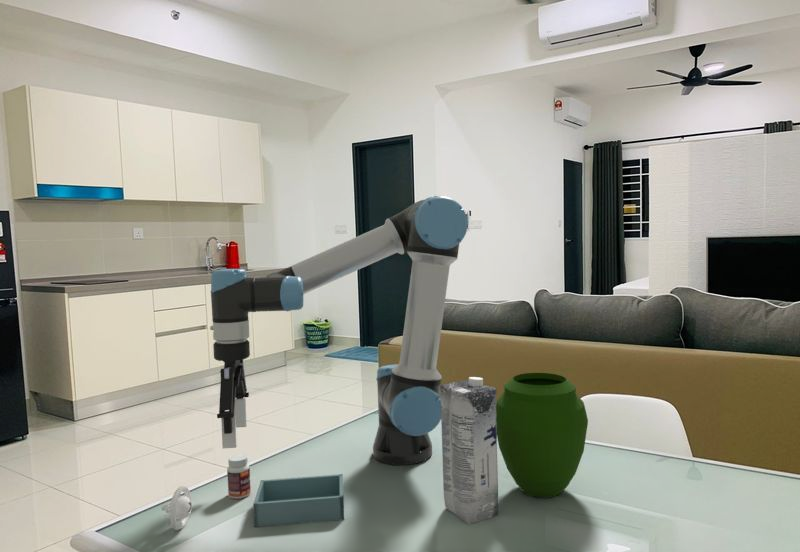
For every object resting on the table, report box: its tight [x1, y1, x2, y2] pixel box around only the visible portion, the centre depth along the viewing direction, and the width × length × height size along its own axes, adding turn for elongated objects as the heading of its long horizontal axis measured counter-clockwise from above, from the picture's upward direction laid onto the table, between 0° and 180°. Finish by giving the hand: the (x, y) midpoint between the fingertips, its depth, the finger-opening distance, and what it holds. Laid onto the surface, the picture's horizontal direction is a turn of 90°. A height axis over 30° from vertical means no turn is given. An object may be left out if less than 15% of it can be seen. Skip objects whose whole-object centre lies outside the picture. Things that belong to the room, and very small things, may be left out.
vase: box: [496, 372, 589, 499], centre depth 125 cm, size 20×20×24 cm
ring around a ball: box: [161, 485, 193, 531], centre depth 115 cm, size 8×6×8 cm
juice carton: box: [439, 376, 499, 525], centre depth 117 cm, size 9×10×27 cm
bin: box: [252, 473, 345, 528], centre depth 121 cm, size 17×11×5 cm, turn 96°
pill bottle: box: [226, 454, 252, 500], centre depth 129 cm, size 5×5×8 cm
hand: (235, 436), depth 129 cm, fingers open, 13 cm apart
